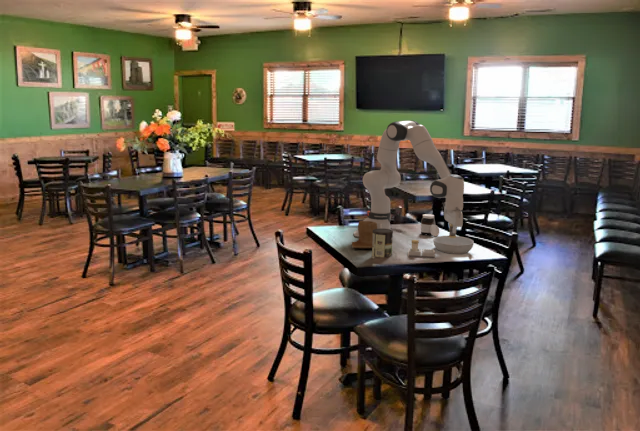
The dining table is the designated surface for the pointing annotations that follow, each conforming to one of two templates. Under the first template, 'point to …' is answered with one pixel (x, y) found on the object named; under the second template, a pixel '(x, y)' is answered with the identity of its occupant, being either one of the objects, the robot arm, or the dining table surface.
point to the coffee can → (382, 243)
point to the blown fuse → (451, 234)
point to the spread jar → (429, 225)
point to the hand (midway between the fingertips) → (452, 231)
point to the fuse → (415, 245)
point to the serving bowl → (453, 244)
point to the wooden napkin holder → (365, 234)
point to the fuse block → (425, 253)
